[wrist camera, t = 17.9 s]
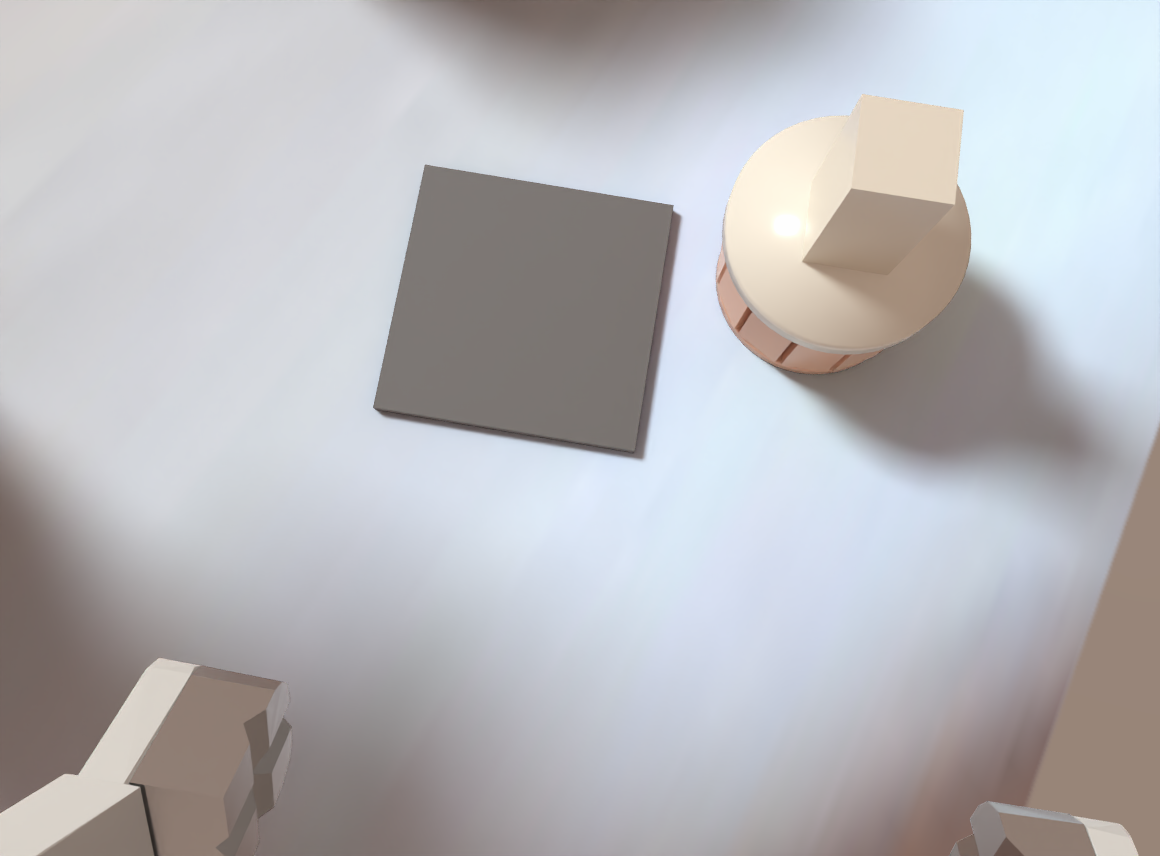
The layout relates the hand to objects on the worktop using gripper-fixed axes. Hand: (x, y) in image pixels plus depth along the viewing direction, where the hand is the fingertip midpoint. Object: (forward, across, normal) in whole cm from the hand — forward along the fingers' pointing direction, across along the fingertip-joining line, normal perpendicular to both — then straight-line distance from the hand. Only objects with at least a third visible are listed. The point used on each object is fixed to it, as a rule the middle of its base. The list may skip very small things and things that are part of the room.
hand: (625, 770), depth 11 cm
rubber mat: (+33, +5, +11) cm, 35 cm away
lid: (+32, -8, +5) cm, 33 cm away
